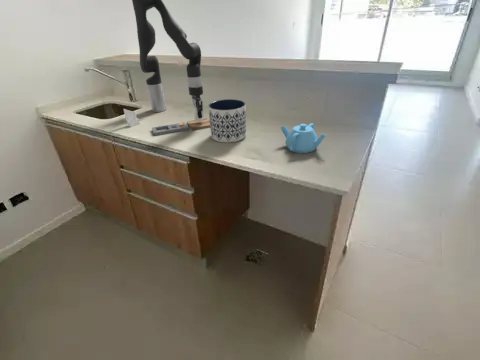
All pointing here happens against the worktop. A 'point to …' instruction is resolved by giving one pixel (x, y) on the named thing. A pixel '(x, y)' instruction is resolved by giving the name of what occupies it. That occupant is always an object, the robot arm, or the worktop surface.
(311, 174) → the worktop surface
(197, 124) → the walnut board
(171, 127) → the grey panel with cutout
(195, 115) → the block
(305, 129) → the teapot
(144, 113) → the worktop surface
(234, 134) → the planter
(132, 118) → the crumpled white paper
